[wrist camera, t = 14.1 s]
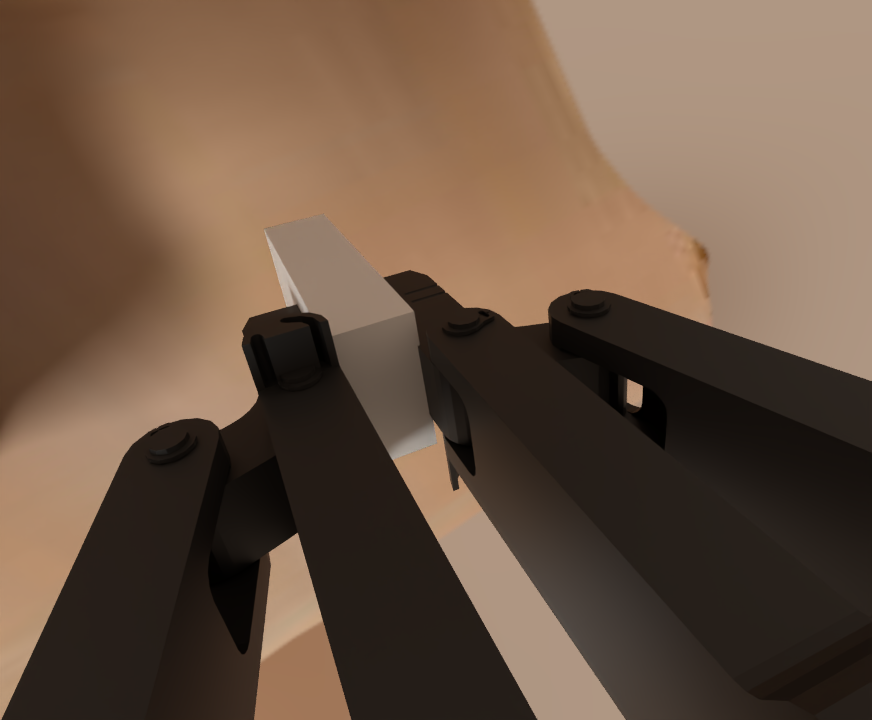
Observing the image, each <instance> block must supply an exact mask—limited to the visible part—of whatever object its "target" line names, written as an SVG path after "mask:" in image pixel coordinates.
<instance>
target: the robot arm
mask: <svg viewBox="0 0 872 720" xmlns="http://www.w3.org/2000/svg"><path fill="white" fill-rule="evenodd" d="M264 231H265V234H266V238H267V241H268V245H269V248H270V251H271V255H272V258H273V262H274V265H275V268H276V272H277V275H278V279H279V282H280V286H281V289H282V292H283V296H284V299H285V303H286V306H287V307H286V308H282V309H279V310H275V311H272V312H268V313H265V314H261V315H258V316H254V317H251V318H249V320H248V321H247V323H246V325H245V327H244V329H243V330H242V332H243V335H244V337H243V341H242V348H243V351H244V354H245V357H246V360H247V362H248V365H249V368H250V371H251V374H252V377H253V380H254V383H255V385H256V388H257V391H258V395H259V396H258V399H257V401H256V403H255V404H254V406H253V407H252V408H251V409H250V411H248V412H247V413H246V414H245V415H244V416H243V417H241V418H240V419H238V420H237V421H235V422H233V423H232V424H230V425H228V426H227V427H225V428H223V429H221V430H219V428H218V427H217V426H216V425H215V424H214V423H213V422H211V421H209V420H204V419H199V418H194V419H183V420H179V421H175V422H172V423H166V424H164V425H161V426H159V427H158V428H157V429H156V428H155V429H153V430H151V431H149V432H148V433H147V434H145V435H144V436H143V437H142V438H140V439H139V440H138V441H136V442H135V443H134V444H133V445H132V446H131V447H130V449H129V450H128V451H127V453H126V454H125V455H124V457H123V459H122V461H121V463H120V466H119V468H118V470H117V472H116V474H115V476H114V478H113V481H112V483H111V485H110V487H109V489H108V491H107V494H106V496H105V498H104V500H103V502H102V504H101V506H100V509H99V511H98V513H97V515H96V517H95V519H94V522H93V524H92V526H91V528H90V530H89V532H88V534H87V537H86V539H85V541H84V543H83V545H82V547H81V549H80V552H79V554H78V556H77V558H76V560H75V562H74V565H73V567H72V569H71V571H70V573H69V575H68V577H67V580H66V582H65V584H64V586H63V588H62V590H61V593H60V595H59V597H58V599H57V601H56V603H55V605H54V608H53V610H52V612H51V614H50V616H49V618H48V621H47V623H46V625H45V627H44V629H43V631H42V633H41V636H40V638H39V640H38V642H37V644H36V646H35V649H34V651H33V653H32V655H31V657H30V659H29V661H28V664H27V666H26V668H25V670H24V672H23V674H22V677H21V679H20V681H19V683H18V685H17V687H16V689H15V692H14V694H13V696H12V698H11V700H10V702H9V705H8V707H7V709H6V711H5V713H4V715H3V717H2V720H254V714H255V705H256V696H257V687H258V677H259V668H260V659H261V650H262V641H263V632H264V623H265V614H266V604H267V595H268V586H269V577H270V568H271V563H270V557H269V553H268V552H270V551H271V550H273V549H274V548H276V547H277V546H279V545H280V544H282V543H283V542H285V541H286V540H288V539H289V538H291V537H292V536H293V535H295V534H296V533H298V535H299V538H300V542H301V545H302V549H303V552H304V556H305V559H306V563H307V566H308V569H309V573H310V576H311V580H312V583H313V587H314V590H315V594H316V597H317V601H318V604H319V608H320V611H321V615H322V618H323V622H324V625H325V629H326V632H327V636H328V639H329V643H330V646H331V650H332V653H333V657H334V660H335V664H336V667H337V671H338V674H339V678H340V681H341V685H342V688H343V692H344V695H345V699H346V702H347V706H348V709H349V713H350V716H351V720H537V718H536V716H535V715H534V713H533V711H532V710H531V708H530V706H529V704H528V702H527V700H526V699H525V697H524V695H523V693H522V691H521V690H520V688H519V686H518V684H517V682H516V681H515V679H514V677H513V675H512V673H511V672H510V670H509V668H508V666H507V665H506V663H505V661H504V659H503V657H502V656H501V654H500V652H499V650H498V648H497V647H496V645H495V643H494V641H493V639H492V638H491V636H490V634H489V632H488V630H487V629H486V627H485V625H484V623H483V622H482V620H481V618H480V616H479V615H478V613H477V611H476V609H475V607H474V605H473V604H472V602H471V600H470V598H469V597H468V595H467V593H466V591H465V589H464V587H463V586H462V584H461V582H460V580H459V578H458V577H457V575H456V573H455V571H454V570H453V568H452V566H451V564H450V562H449V561H448V559H447V557H446V555H445V553H444V552H443V550H442V548H441V547H440V544H439V543H438V541H437V539H436V537H435V535H434V534H433V532H432V530H431V528H430V527H429V525H428V523H427V521H426V519H425V518H424V516H423V514H422V512H421V510H420V509H419V507H418V505H417V503H416V501H415V500H414V498H413V496H412V494H411V492H410V491H409V489H408V487H407V485H406V484H405V482H404V480H403V478H402V476H401V475H400V473H399V471H398V469H397V467H396V466H395V464H394V462H393V459H396V458H399V457H401V456H404V455H407V454H409V453H412V452H415V451H418V450H420V449H423V448H426V447H428V446H431V445H434V444H437V440H436V434H435V429H434V423H433V420H434V421H435V423H436V424H437V425H438V427H439V428H440V430H441V431H442V432H443V438H444V444H445V450H446V456H447V462H448V468H449V474H450V480H451V484H452V488H453V491H455V490H457V489H459V484H458V477H459V475H460V477H461V478H462V480H463V481H464V483H465V484H466V485H467V487H468V488H469V490H470V491H471V493H472V494H473V496H474V497H475V499H476V500H477V502H478V503H479V505H480V506H481V507H482V509H483V510H484V512H485V513H486V515H487V516H488V518H489V519H490V521H491V522H492V524H493V525H494V526H495V528H496V530H497V531H498V532H499V534H500V535H501V537H502V538H503V540H504V541H505V543H506V544H507V546H508V547H509V549H510V550H511V552H512V553H513V554H514V556H515V557H516V559H517V560H518V562H519V563H520V565H521V566H522V568H523V569H524V571H525V572H526V574H527V575H528V576H529V578H530V579H531V581H532V582H533V584H534V585H535V587H536V588H537V590H538V591H539V592H540V594H541V596H542V597H543V598H544V600H545V601H546V603H547V604H548V606H549V607H550V609H551V610H552V612H553V613H554V615H555V616H556V618H557V619H558V620H559V622H560V624H561V625H562V626H563V628H564V629H565V631H566V632H567V634H568V635H569V637H570V638H571V639H572V641H573V642H574V644H575V646H576V647H577V648H578V650H579V651H580V653H581V654H582V656H583V657H584V659H585V660H586V662H587V663H588V665H589V666H590V668H591V669H592V670H593V672H594V673H595V675H596V676H597V678H598V679H599V681H600V682H601V684H602V685H603V687H604V688H605V690H606V691H607V692H608V694H609V695H610V697H611V698H612V700H613V701H614V703H615V704H616V706H617V707H618V709H619V710H620V712H621V713H622V715H623V716H624V718H625V719H626V720H872V381H869V380H866V379H863V378H860V377H857V376H854V375H851V374H849V373H845V372H843V371H840V370H837V369H834V368H830V367H828V366H825V365H822V364H819V363H816V362H813V361H810V360H808V359H805V358H802V357H798V356H796V355H793V354H790V353H787V352H784V351H781V350H778V349H775V348H772V347H769V346H766V345H764V344H761V343H758V342H755V341H752V340H749V339H746V338H743V337H740V336H737V335H734V334H731V333H728V332H726V331H723V330H720V329H716V328H714V327H711V326H708V325H705V324H702V323H699V322H696V321H693V320H690V319H688V318H685V317H682V316H679V315H676V314H673V313H670V312H667V311H664V310H661V309H658V308H655V307H652V306H649V305H647V304H644V303H641V302H638V301H635V300H632V299H629V298H626V297H623V296H620V295H617V294H614V293H609V292H605V291H593V290H590V289H585V290H580V291H579V290H577V291H573V292H570V293H568V294H566V295H563V296H560V297H558V298H557V299H555V300H554V301H553V302H551V304H550V306H549V309H548V316H549V323H544V324H536V325H529V326H521V327H514V326H512V325H511V324H510V323H509V322H508V321H506V320H505V319H504V318H503V317H502V316H500V315H499V314H497V313H495V312H493V311H491V310H488V309H482V308H464V307H462V306H461V305H460V304H459V303H458V302H457V301H456V300H455V299H453V298H452V297H451V296H450V295H449V294H448V293H445V291H444V290H443V289H442V288H441V287H440V286H437V284H436V283H435V282H434V281H433V280H432V279H431V278H430V277H429V276H427V275H425V274H421V273H418V272H414V271H411V270H409V271H405V272H402V273H398V274H395V275H391V276H388V277H384V278H383V277H382V276H381V275H380V274H379V273H378V272H377V271H376V270H375V269H374V268H373V267H372V265H371V264H370V263H369V262H368V261H367V260H366V259H365V258H364V257H363V256H362V255H361V254H360V253H359V251H358V250H357V249H356V248H355V247H354V246H353V245H352V244H351V243H350V242H349V241H348V240H347V239H346V238H345V236H344V235H343V234H342V233H341V232H340V231H339V230H338V229H337V228H336V227H335V226H334V225H333V224H332V222H331V221H330V220H329V219H328V218H327V217H326V216H325V215H324V214H321V215H317V216H313V217H309V218H305V219H301V220H297V221H293V222H289V223H285V224H281V225H277V226H273V227H269V228H265V229H264ZM627 379H629V380H631V381H633V382H636V383H638V384H640V385H642V386H643V398H642V407H640V408H639V407H636V406H633V405H631V404H629V403H627Z"/></svg>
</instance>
